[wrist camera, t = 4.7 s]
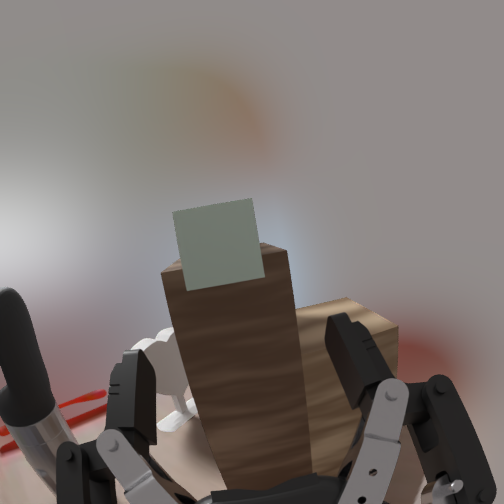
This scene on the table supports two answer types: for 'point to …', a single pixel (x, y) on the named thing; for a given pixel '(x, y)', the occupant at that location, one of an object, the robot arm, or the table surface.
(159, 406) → the table surface
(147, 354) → the heart sculpture
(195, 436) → the table surface
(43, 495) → the table surface
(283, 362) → the stand
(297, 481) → the robot arm
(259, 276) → the pale green bar
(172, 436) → the table surface
